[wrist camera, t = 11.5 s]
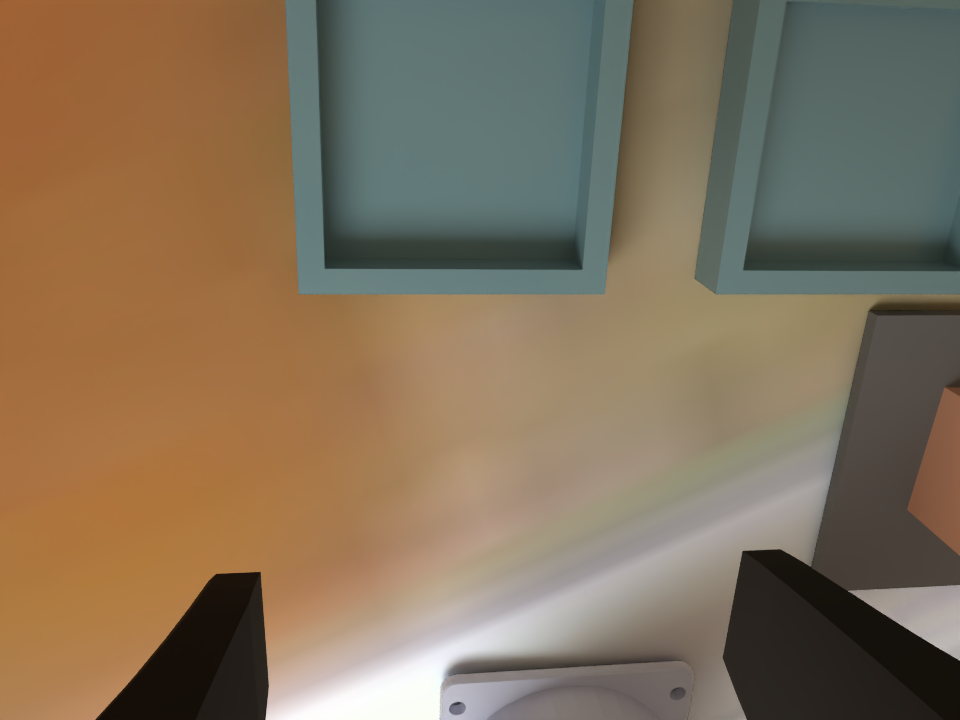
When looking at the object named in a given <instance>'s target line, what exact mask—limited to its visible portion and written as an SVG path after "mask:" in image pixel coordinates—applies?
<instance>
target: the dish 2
mask: <svg viewBox="0 0 960 720" xmlns="http://www.w3.org/2000/svg"><path fill="white" fill-rule="evenodd" d="M695 279H696V280H697V281H699V282H700V283H701V284H703V285H704V286H705V287H707V288H708V289H709V290H711V291H712V292H713V293H715V294H960V0H734V1H733V8H732V15H731V22H730V29H729V36H728V44H727V51H726V58H725V65H724V72H723V79H722V87H721V94H720V101H719V108H718V115H717V122H716V130H715V137H714V144H713V151H712V158H711V165H710V173H709V180H708V187H707V194H706V201H705V208H704V215H703V223H702V230H701V237H700V244H699V251H698V258H697V266H696V273H695Z"/></svg>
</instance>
